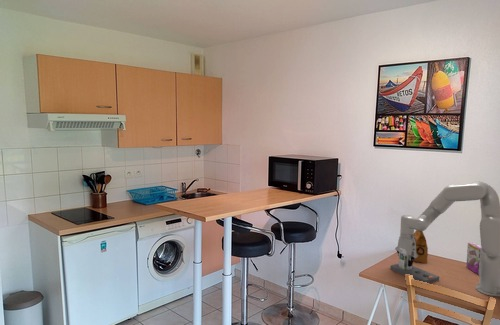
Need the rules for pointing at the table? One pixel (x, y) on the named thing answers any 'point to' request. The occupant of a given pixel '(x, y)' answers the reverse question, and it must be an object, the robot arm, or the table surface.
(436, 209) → the robot arm
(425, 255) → the coffee package
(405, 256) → the syrup box
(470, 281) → the table surface
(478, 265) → the candy bar box
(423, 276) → the gray compartment tray
